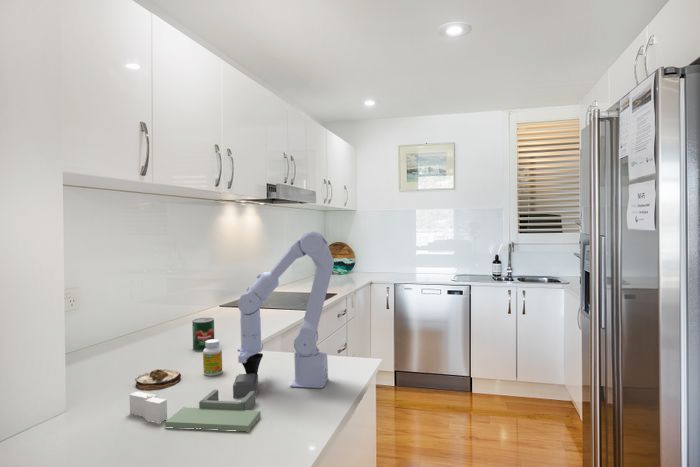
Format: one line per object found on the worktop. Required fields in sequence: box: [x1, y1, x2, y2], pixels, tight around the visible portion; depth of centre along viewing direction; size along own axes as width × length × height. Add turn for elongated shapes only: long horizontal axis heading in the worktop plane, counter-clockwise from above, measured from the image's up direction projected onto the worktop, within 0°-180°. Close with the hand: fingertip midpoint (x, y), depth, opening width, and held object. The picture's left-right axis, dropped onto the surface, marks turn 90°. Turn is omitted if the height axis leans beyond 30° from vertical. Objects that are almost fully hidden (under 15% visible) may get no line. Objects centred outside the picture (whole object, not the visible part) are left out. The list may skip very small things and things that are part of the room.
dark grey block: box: [232, 373, 259, 399], centre depth 124 cm, size 6×8×4 cm
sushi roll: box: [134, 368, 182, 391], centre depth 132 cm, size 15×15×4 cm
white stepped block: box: [129, 390, 168, 424], centre depth 108 cm, size 15×11×6 cm
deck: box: [164, 389, 261, 433], centre depth 109 cm, size 20×16×3 cm
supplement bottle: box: [202, 338, 223, 377], centre depth 140 cm, size 6×6×10 cm
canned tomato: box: [191, 317, 215, 353], centre depth 168 cm, size 8×8×11 cm
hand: (252, 379), depth 129 cm, fingers closed
